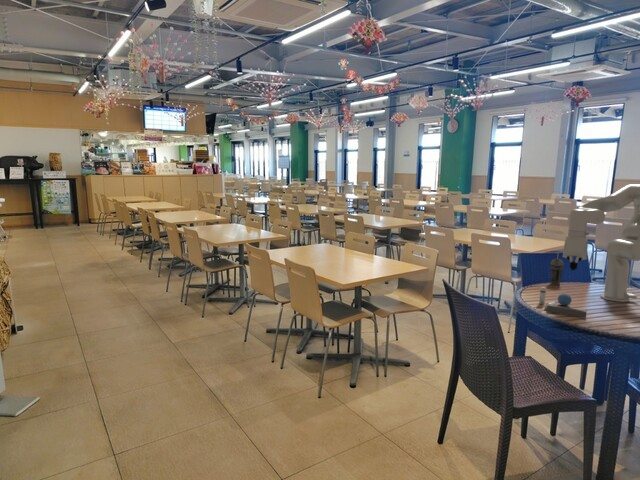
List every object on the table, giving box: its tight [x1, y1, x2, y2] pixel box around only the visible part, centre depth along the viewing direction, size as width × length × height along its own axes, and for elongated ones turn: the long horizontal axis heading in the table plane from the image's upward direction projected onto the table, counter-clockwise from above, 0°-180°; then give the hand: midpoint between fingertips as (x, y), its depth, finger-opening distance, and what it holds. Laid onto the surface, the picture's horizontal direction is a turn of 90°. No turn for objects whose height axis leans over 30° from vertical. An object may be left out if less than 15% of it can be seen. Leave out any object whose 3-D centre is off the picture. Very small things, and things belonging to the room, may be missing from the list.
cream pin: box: [544, 300, 557, 310], centre depth 211 cm, size 2×2×8 cm
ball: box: [557, 293, 572, 307], centre depth 214 cm, size 6×6×6 cm
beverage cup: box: [549, 250, 565, 286], centre depth 255 cm, size 7×7×20 cm
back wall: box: [546, 305, 588, 319], centre depth 201 cm, size 16×2×3 cm, turn 53°
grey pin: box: [538, 286, 547, 306], centre depth 216 cm, size 2×2×8 cm
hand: (573, 269), depth 217 cm, fingers closed
